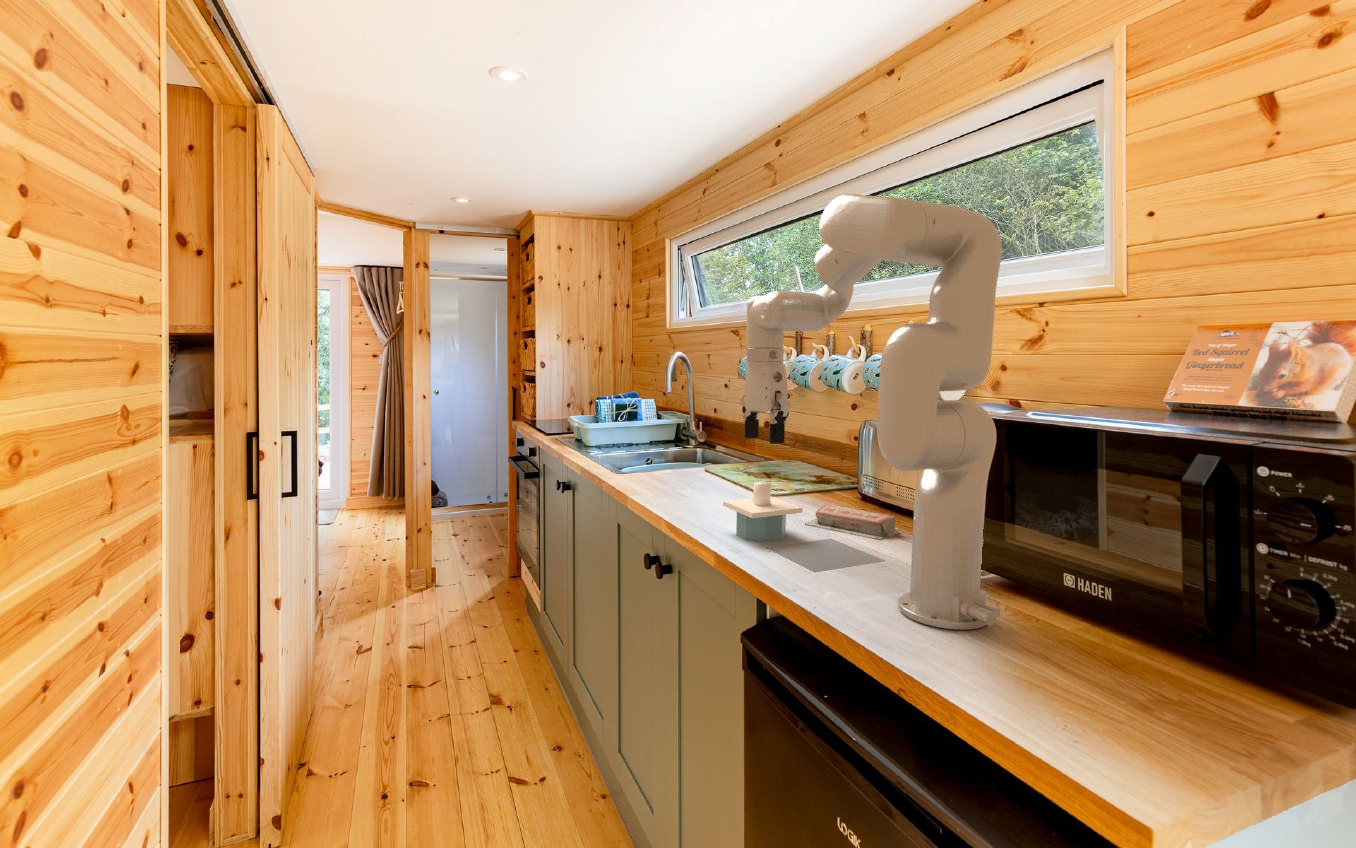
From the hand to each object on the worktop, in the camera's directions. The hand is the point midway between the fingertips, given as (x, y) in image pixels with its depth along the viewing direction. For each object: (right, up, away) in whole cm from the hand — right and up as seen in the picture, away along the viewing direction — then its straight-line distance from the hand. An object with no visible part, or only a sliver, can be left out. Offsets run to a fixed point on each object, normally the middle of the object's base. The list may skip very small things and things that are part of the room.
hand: (763, 440), depth 134 cm
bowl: (0, -20, +2) cm, 21 cm away
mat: (+10, -22, -10) cm, 26 cm away
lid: (0, -14, +2) cm, 15 cm away
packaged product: (+21, -21, +9) cm, 30 cm away
